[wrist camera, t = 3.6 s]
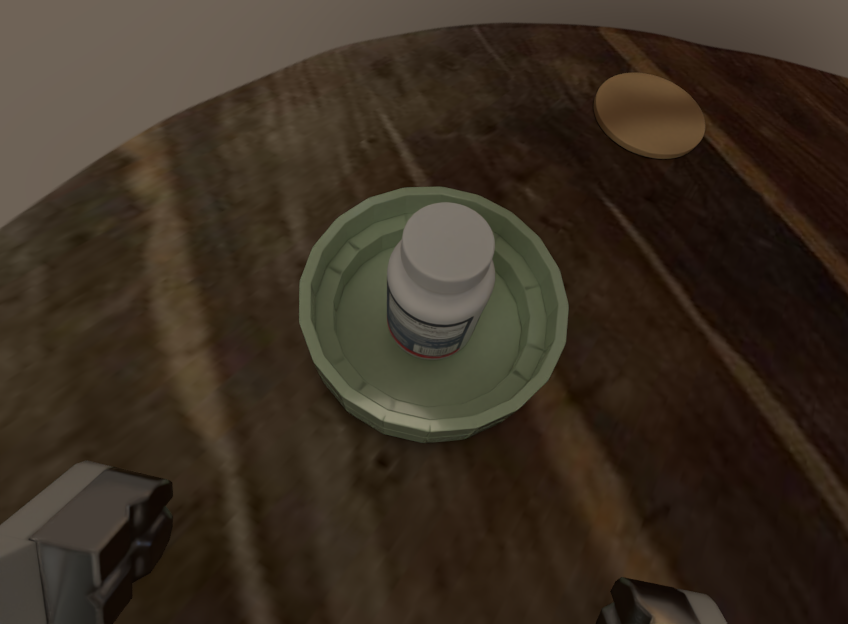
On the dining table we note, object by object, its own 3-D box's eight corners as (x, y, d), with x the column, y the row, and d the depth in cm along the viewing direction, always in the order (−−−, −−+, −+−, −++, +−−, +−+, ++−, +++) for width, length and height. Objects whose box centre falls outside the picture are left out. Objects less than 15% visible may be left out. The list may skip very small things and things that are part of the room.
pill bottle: (424, 266, 28) (441, 168, 20) (490, 317, 27) (535, 235, 19) (367, 323, 27) (361, 240, 18) (435, 380, 25) (460, 318, 17)
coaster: (724, 142, 36) (728, 137, 36) (634, 171, 34) (637, 167, 33) (658, 68, 39) (661, 63, 39) (572, 91, 37) (574, 85, 36)
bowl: (586, 384, 27) (619, 363, 23) (360, 487, 23) (356, 482, 20) (479, 201, 31) (492, 160, 28) (280, 264, 28) (265, 227, 24)
